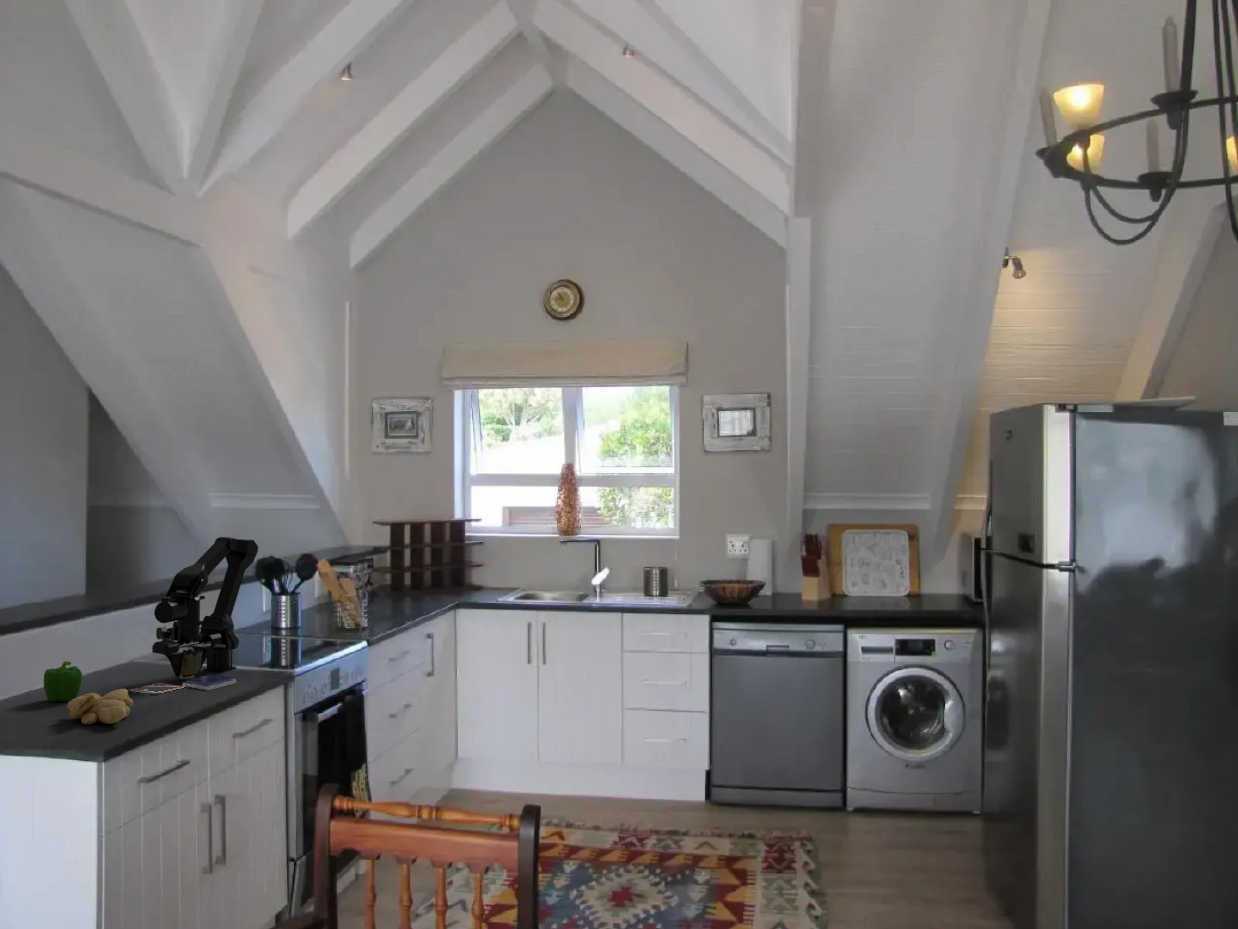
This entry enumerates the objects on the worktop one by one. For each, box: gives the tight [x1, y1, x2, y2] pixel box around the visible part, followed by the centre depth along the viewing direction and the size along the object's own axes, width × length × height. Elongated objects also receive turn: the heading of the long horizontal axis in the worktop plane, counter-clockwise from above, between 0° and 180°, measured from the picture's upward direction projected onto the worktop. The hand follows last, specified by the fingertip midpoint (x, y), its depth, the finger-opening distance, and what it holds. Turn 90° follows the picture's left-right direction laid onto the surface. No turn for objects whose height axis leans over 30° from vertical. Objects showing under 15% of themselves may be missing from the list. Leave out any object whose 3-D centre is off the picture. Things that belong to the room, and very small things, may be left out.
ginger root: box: [66, 688, 134, 725], centre depth 221 cm, size 16×16×8 cm
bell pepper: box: [43, 660, 83, 703], centre depth 238 cm, size 8×8×10 cm
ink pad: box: [182, 673, 237, 691], centre depth 257 cm, size 10×9×2 cm
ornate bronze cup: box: [179, 648, 203, 682], centre depth 262 cm, size 8×7×8 cm
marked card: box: [131, 682, 185, 694], centre depth 251 cm, size 10×10×1 cm
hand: (187, 674), depth 262 cm, fingers closed on ornate bronze cup, 6 cm apart
